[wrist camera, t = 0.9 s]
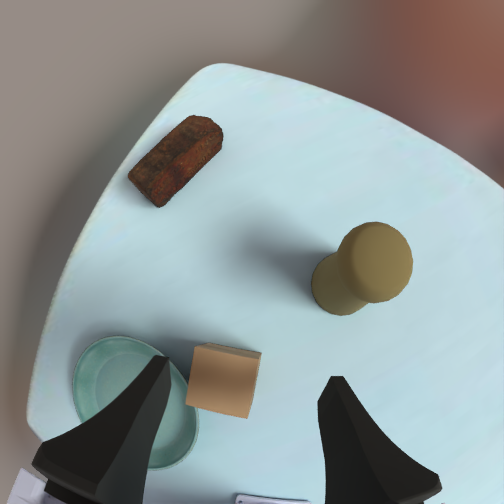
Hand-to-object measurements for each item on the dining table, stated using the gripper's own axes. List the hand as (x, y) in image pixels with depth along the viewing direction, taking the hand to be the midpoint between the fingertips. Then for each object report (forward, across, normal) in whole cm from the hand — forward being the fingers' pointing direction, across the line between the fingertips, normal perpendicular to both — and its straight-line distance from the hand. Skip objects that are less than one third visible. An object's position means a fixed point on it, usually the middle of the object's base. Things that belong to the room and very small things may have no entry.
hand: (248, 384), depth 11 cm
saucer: (+7, +10, +16) cm, 20 cm away
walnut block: (+10, +1, +10) cm, 14 cm away
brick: (+24, +9, -5) cm, 26 cm away
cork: (+15, -9, +2) cm, 17 cm away
